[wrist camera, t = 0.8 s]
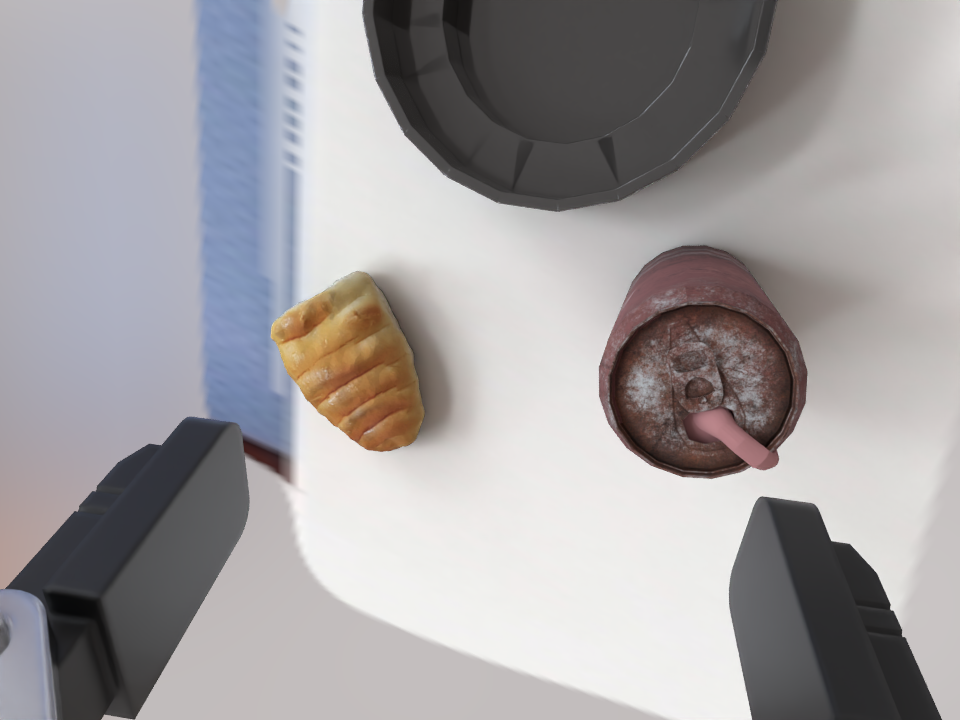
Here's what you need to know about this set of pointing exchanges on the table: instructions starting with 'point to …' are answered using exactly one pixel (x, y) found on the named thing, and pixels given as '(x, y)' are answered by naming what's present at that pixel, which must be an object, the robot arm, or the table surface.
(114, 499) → the robot arm
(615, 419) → the can
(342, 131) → the table surface
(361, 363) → the pastry
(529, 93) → the bowl
